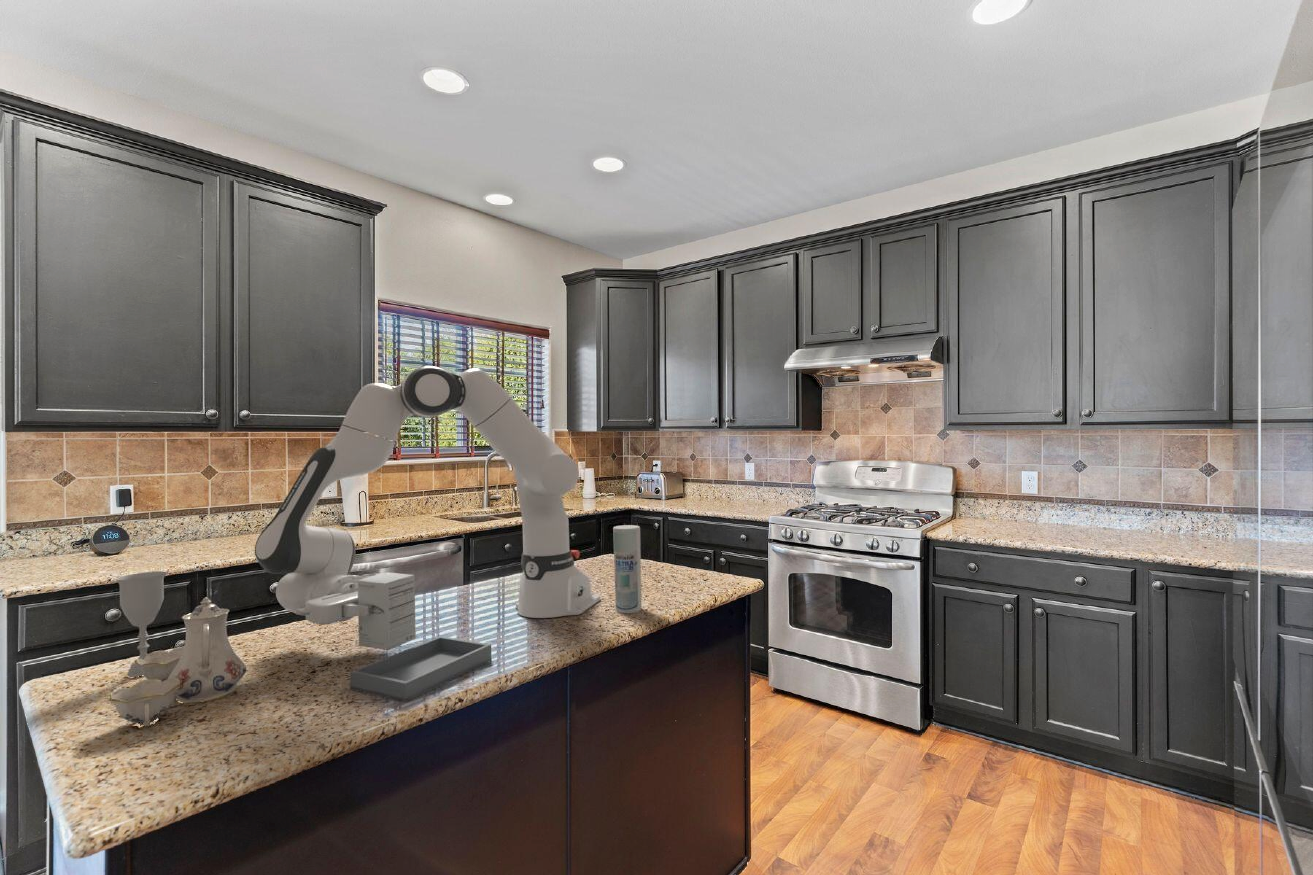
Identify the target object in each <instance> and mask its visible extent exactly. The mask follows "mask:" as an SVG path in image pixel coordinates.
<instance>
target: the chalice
mask: <svg viewBox="0 0 1313 875" xmlns="http://www.w3.org/2000/svg"><path fill="white" fill-rule="evenodd" d="M167 573H168V572H167V571H147V572H139V573H132V574H127V575H122V576H119V577H116V578H115V581H116V582H117V583H118V585H119V607H120V608H121V610H122V612H123V615H124V616H125V617H126V619H127V620H128V622H129V623H130V624H131V626H134V627H138V630H139V633H138V636H137V638H136V639H138V641H139V644H138V646H137V647H136V649H138V651H139V657H138V658H137V659H143V658H144V657H145V656H146V655H147V654H148V648H149V647H150V644H148V642H147V640H148V637H149V636H150V635H149V634H148V632H147V629H148V628H147V627H148V626H149V625H150V624H152V623H154V621H155V618H156V617H157V615H158V613H159V611H160V609H161V607H162V604H163V601H164V599H165V590H164V589H165V587H164V583H165V582H164V578H165V577H166V575H167ZM126 675H128V676H129V677H138V676H142V675H144V674H143V672H142V669H141V667H140V666H139V665H137V664H135V662H134V661H133V662H132V663H131V664H130V667H129V669H128V670H127V674H126Z"/></svg>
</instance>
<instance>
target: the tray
mask: <svg viewBox="0 0 1313 875" xmlns="http://www.w3.org/2000/svg"><path fill="white" fill-rule="evenodd" d="M489 661H490V662H491V661H493V660H492V644H489V643H483V642H477V641H471V640H465V639H460V638H459V639H458V638H452V637H446V636H437V637H435V638H433V639H430V640H426V641H425V642H423V643H419V644H417V645H415V646H412V647H409V648H407V649H404V650H402V651H399V652H397V653H394V654H391V655H389V656H387V657H384V658H381V659H379V660H376V661H374V662H372V663H371V662H370V663H369V664H366V665H363V666H361V667H358V668H356V669H354V670H352V671H349V675H350V676H349V681H350V682H349V684H350V685H349V688H350V689H349V690H350V691H354V692H355V691H356V692H360V693H364V694H367V695H372V696H377V697H381V698H386V699H390V700H395V701H399V702H403V703H408V702H409V701H411V700H413V699H416V698H417V697H420V696H422V695H423V694H426V693H428V692H430V691H432V690H434V689H436V688H438V687H441V686H442V685H444V684H446V683H448V681H449V682H450V680H451V681H452V680H455V679H456V678H455V677H457V678H458V677H460V675H461V676H463V675H464V674H467V673H468V672H471V671H473V670H475V669H477V668H479V667H481V666H484V665H485V664H487V663H490V662H489ZM478 666H479V667H478ZM472 669H473V670H472ZM466 672H467V673H466ZM454 678H455V679H454Z"/></svg>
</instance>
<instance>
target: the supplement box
mask: <svg viewBox="0 0 1313 875" xmlns="http://www.w3.org/2000/svg"><path fill="white" fill-rule="evenodd" d="M415 577H416V576H415V574H408V573H399V572H398V573H396V572H388V571H387V572H381V573H377V575H374V576H371V577H367V578H364V579H360V580H358V605H364V604H369V605H372V606H373V609H372V610H373V614H371V615H368V616H357V618H358V620H357V621H358V646H359V647H366V648H373V649H377V650H378V649H379V650H383V651H387V652H388V651H391V650H393V649H395V648H398V647H400V646H402V645H405V644H406V643H409V642H411V641H413V640H415V639H416V636H417V635H416V634H417V633H416V630H417V628H416V594H415V592H416V591H415V590H416V588H415V587H416V585H415V584H416V583H415V582H416V581H415Z"/></svg>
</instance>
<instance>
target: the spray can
mask: <svg viewBox="0 0 1313 875" xmlns="http://www.w3.org/2000/svg"><path fill="white" fill-rule="evenodd" d="M612 530H613V534H612V535H613V537H612V538H613V561H614V562H613V565H614V570H613V571H614V593H615V595H614V597H615V600H614V601H615V611H616V612H617V613H621V614H633V613H638V612H640V611H641V610H642V569H641V568H642V563H641V562H642V561H641V558H642V556H641V554H642V553H641V527H640V526H639V525H633V524H628V525H627V524H624V525H616V526H613V528H612Z"/></svg>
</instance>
